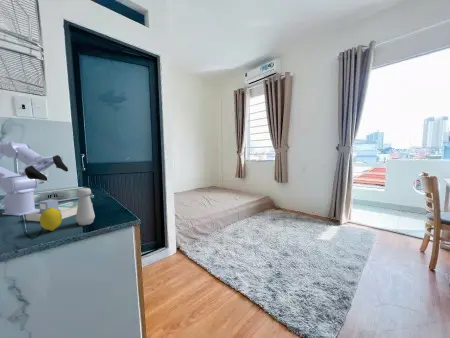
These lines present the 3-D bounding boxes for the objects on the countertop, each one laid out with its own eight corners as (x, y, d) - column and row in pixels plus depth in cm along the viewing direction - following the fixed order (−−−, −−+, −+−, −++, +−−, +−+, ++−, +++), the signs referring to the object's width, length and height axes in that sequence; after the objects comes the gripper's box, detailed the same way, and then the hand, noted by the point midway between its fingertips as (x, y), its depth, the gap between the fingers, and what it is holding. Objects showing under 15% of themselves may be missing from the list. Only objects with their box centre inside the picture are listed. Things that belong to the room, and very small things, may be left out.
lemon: (49, 227, 69) (47, 205, 68) (66, 227, 69) (65, 205, 68) (36, 234, 63) (33, 210, 62) (54, 234, 64) (52, 209, 63)
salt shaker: (85, 226, 70) (82, 190, 68) (71, 225, 71) (69, 189, 69) (99, 221, 75) (97, 187, 74) (86, 220, 76) (84, 186, 75)
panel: (26, 220, 76) (25, 213, 76) (71, 207, 93) (70, 201, 93) (51, 222, 74) (51, 215, 73) (92, 208, 91) (92, 202, 91)
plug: (39, 219, 77) (38, 201, 76) (51, 215, 81) (49, 199, 80) (48, 220, 76) (46, 202, 75) (59, 216, 80) (57, 199, 79)
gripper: (6, 159, 73) (32, 175, 70) (49, 144, 84) (73, 158, 82) (13, 173, 77) (38, 189, 74) (53, 157, 88) (76, 171, 86)
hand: (57, 174), depth 78 cm, fingers open, 7 cm apart
